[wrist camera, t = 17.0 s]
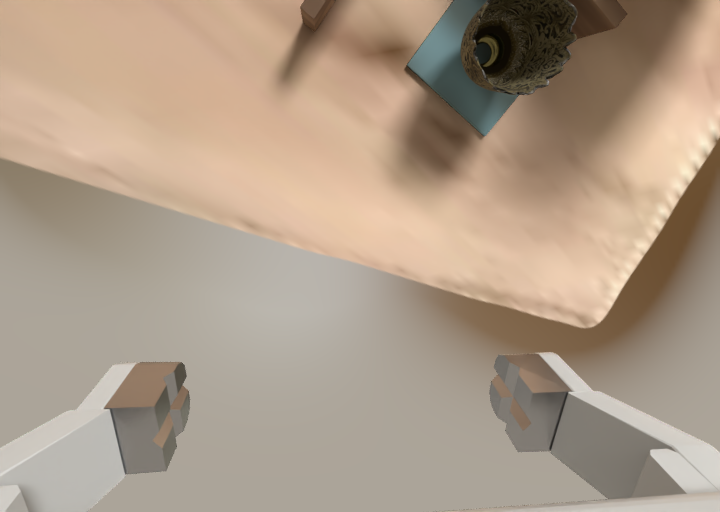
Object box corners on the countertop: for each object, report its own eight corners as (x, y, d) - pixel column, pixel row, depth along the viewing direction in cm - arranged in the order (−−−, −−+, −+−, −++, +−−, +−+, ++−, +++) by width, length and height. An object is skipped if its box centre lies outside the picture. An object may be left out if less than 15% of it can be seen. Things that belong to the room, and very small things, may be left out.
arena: (470, 167, 38) (491, 175, 33) (302, 22, 32) (300, 7, 27) (585, 27, 34) (627, 14, 30) (421, -165, 28) (441, -219, 24)
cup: (426, 75, 34) (457, 65, 27) (466, -12, 32) (511, -50, 25) (495, 111, 36) (541, 111, 28) (537, 30, 34) (599, 8, 26)
